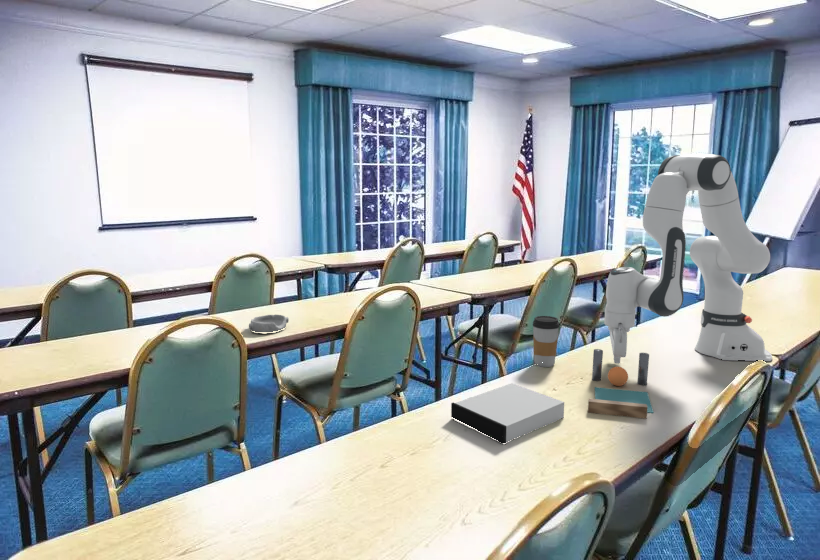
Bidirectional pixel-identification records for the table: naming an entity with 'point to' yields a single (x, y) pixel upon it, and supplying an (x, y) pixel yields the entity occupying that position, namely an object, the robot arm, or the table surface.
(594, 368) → the post
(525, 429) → the disc drive
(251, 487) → the table surface
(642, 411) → the stopper wall
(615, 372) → the ball
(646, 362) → the post
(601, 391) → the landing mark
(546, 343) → the coffee cup
